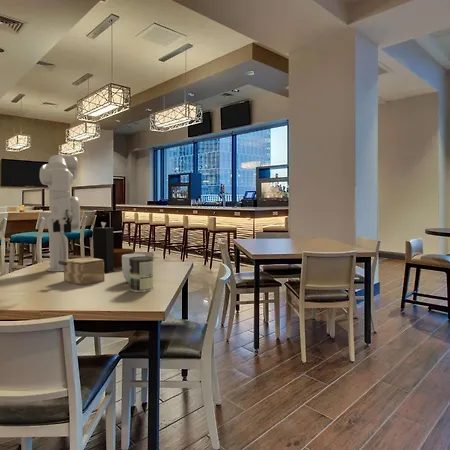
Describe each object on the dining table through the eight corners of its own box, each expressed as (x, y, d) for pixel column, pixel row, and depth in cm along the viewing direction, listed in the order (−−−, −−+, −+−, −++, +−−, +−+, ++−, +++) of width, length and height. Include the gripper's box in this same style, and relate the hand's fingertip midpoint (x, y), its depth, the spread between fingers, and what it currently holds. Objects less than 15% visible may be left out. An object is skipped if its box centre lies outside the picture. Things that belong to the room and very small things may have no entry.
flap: (52, 263, 171) (52, 259, 171) (86, 259, 185) (86, 255, 184) (69, 266, 162) (69, 263, 162) (103, 262, 175) (103, 258, 175)
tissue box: (107, 273, 195) (106, 222, 193) (93, 272, 196) (92, 222, 195) (114, 270, 203) (113, 221, 201) (101, 270, 204) (100, 221, 203)
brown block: (140, 266, 218) (140, 249, 218) (117, 270, 204) (117, 253, 203) (120, 263, 228) (120, 247, 227) (97, 267, 213) (97, 251, 212)
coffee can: (127, 292, 153) (127, 259, 152) (131, 286, 163) (131, 256, 163) (151, 291, 154) (151, 259, 153) (154, 286, 164) (154, 256, 163)
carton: (64, 280, 176) (63, 261, 175) (86, 277, 185) (85, 258, 185) (81, 285, 166) (81, 264, 166) (104, 281, 176) (104, 261, 175)
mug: (150, 277, 184) (149, 252, 183) (155, 282, 174) (155, 255, 173) (120, 280, 177) (119, 254, 176) (124, 285, 167) (123, 257, 166)
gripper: (43, 195, 167) (44, 232, 168) (62, 194, 157) (64, 233, 157) (59, 196, 173) (60, 231, 174) (78, 195, 163) (79, 232, 163)
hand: (62, 232), depth 166 cm, fingers open, 9 cm apart
